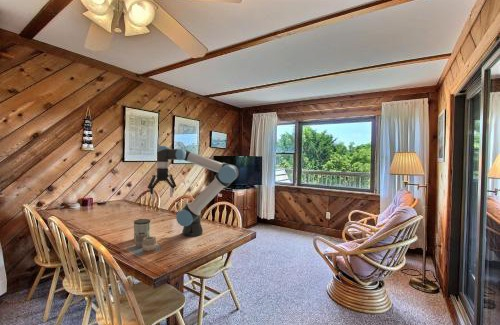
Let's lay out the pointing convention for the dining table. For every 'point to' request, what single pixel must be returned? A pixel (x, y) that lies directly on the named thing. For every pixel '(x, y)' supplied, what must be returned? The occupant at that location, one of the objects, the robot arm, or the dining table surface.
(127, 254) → the dining table surface
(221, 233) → the dining table surface
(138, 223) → the coffee can
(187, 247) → the dining table surface
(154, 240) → the cream sleeve
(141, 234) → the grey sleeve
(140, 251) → the pin board
